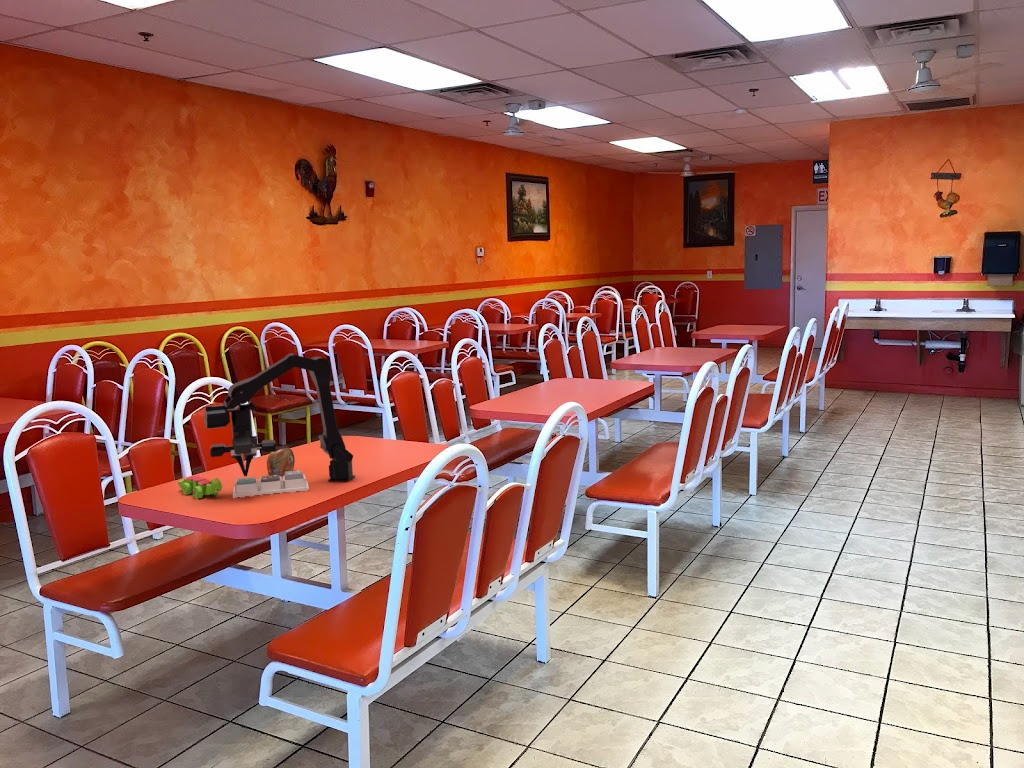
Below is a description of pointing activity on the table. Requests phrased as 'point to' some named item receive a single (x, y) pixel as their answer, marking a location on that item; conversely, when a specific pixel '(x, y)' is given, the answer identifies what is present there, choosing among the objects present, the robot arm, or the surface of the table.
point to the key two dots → (293, 475)
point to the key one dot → (246, 480)
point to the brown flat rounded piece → (280, 462)
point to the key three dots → (270, 478)
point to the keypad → (270, 487)
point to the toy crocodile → (200, 486)
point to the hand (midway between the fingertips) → (245, 476)
